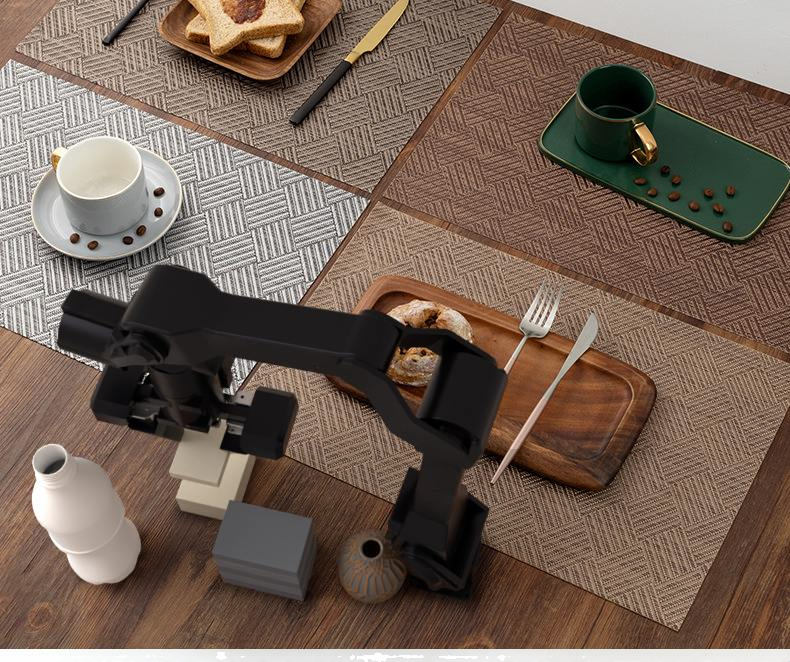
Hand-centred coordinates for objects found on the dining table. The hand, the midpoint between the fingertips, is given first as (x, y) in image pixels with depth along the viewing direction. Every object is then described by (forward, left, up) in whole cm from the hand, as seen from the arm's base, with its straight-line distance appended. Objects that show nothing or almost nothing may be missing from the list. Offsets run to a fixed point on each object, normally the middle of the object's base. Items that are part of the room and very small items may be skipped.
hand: (207, 443), depth 113 cm
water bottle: (+9, +10, -11) cm, 17 cm away
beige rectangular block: (0, 0, -11) cm, 11 cm away
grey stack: (-8, +7, -11) cm, 15 cm away
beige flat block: (0, 0, -1) cm, 1 cm away
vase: (-18, +6, -11) cm, 22 cm away
